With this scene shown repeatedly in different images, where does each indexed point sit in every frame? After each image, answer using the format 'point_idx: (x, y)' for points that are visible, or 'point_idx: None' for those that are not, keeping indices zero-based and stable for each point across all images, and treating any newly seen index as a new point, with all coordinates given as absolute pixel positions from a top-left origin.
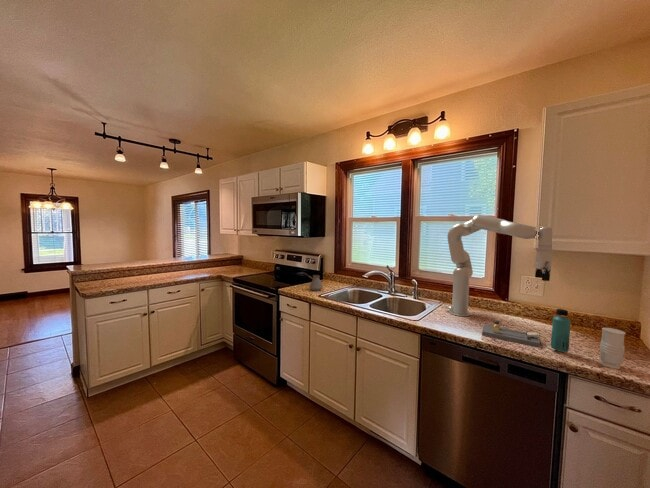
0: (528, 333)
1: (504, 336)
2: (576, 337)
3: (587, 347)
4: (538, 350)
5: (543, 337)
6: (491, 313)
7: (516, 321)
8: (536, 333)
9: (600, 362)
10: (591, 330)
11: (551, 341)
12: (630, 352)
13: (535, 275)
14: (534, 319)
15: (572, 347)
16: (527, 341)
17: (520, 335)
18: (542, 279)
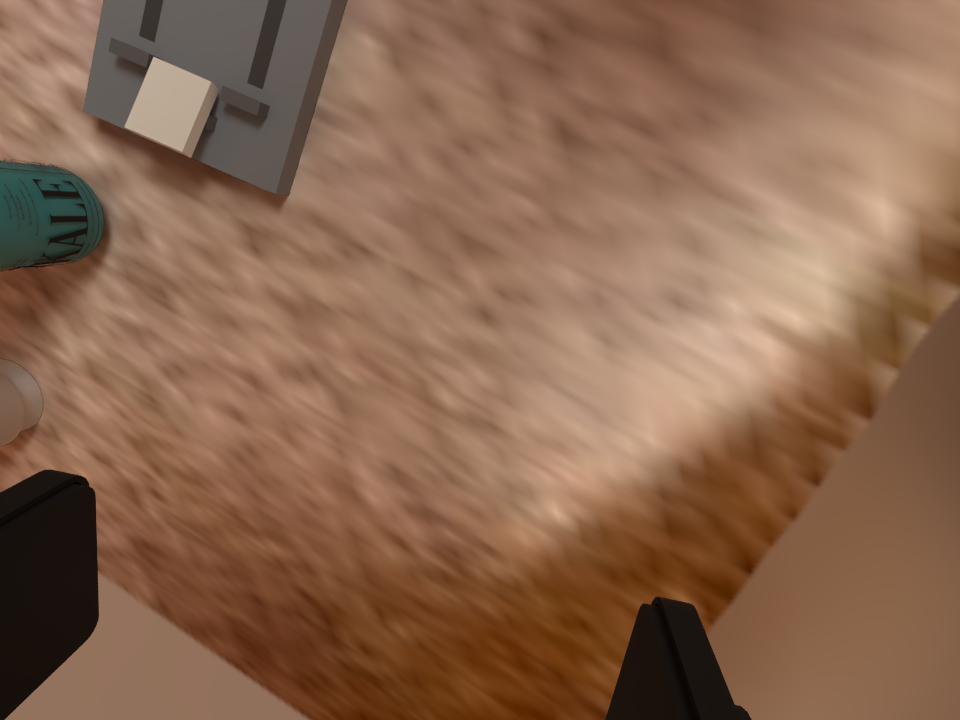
0: (177, 78)
1: None
2: (400, 495)
3: (232, 446)
4: (45, 75)
5: (325, 258)
6: (942, 70)
7: (689, 231)
8: (154, 130)
9: (14, 365)
10: (576, 682)
11: (26, 164)
12: (242, 625)
13: (676, 640)
14: (777, 433)
15: (196, 352)
16: (103, 33)
17: (200, 26)
18: (31, 485)
